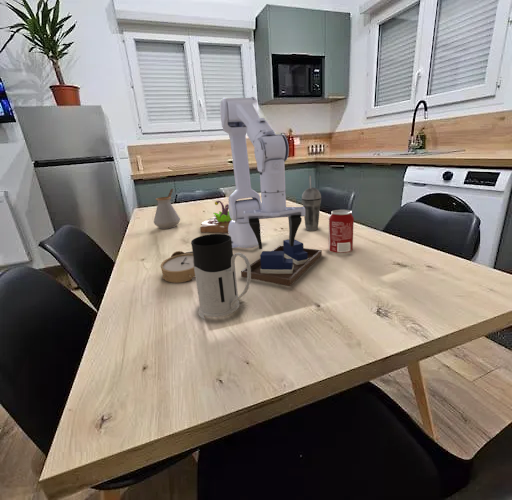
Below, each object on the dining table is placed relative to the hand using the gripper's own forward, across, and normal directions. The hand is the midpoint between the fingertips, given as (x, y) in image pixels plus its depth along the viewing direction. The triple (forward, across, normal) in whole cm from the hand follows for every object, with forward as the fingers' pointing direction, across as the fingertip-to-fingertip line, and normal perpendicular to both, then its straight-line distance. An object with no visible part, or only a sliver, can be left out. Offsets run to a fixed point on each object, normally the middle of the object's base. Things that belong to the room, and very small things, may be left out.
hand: (275, 246), depth 73 cm
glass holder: (+8, -12, -17) cm, 22 cm away
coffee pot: (+8, -42, +67) cm, 79 cm away
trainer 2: (+6, +6, +7) cm, 11 cm away
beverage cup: (+8, +18, +39) cm, 43 cm away
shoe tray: (+7, +2, +3) cm, 8 cm away
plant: (+8, -16, +53) cm, 56 cm away
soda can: (+8, +20, +12) cm, 24 cm away
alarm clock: (+8, -24, +7) cm, 26 cm away
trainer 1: (+6, 0, 0) cm, 6 cm away
